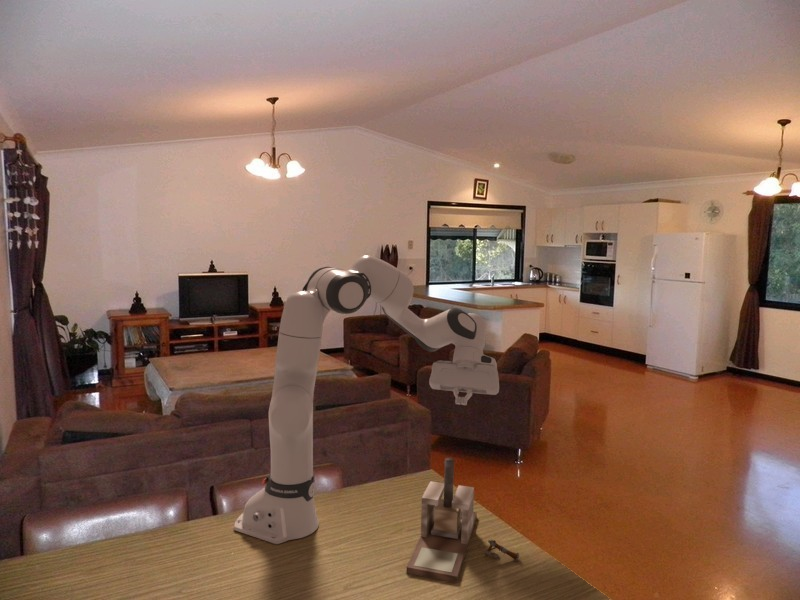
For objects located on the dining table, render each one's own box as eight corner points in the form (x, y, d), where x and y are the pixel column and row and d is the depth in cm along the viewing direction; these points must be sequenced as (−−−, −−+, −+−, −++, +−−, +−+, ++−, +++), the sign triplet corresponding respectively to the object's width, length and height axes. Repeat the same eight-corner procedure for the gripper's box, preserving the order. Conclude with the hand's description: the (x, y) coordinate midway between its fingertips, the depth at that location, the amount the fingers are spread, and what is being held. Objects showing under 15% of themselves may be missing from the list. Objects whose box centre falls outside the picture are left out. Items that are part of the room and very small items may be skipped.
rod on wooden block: (431, 534, 144) (432, 463, 142) (437, 519, 152) (439, 452, 149) (457, 539, 142) (460, 467, 140) (463, 523, 150) (465, 455, 147)
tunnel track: (406, 573, 130) (407, 524, 129) (434, 510, 160) (435, 471, 159) (457, 582, 127) (458, 533, 126) (476, 517, 157) (477, 476, 155)
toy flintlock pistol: (481, 550, 139) (489, 536, 138) (511, 566, 138) (519, 551, 137) (481, 554, 137) (489, 540, 136) (511, 571, 136) (519, 556, 135)
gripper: (431, 354, 167) (423, 394, 158) (500, 359, 161) (495, 401, 153) (434, 365, 171) (426, 405, 163) (501, 371, 166) (497, 412, 158)
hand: (460, 403), depth 158 cm, fingers closed
